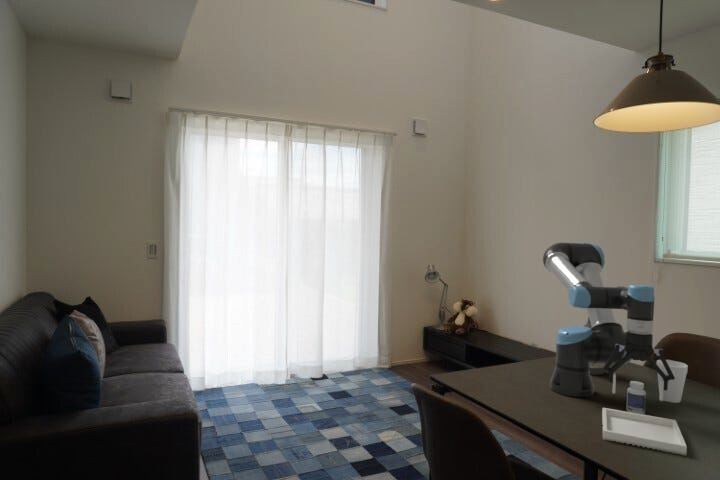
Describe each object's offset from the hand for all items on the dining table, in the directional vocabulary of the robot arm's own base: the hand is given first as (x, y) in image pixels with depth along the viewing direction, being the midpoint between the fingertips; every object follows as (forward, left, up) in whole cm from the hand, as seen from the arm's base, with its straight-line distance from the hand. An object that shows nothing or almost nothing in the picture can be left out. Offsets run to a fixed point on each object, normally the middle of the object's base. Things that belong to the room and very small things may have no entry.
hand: (637, 396), depth 159 cm
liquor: (-14, +42, -6) cm, 45 cm away
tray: (0, -19, -5) cm, 19 cm away
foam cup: (+12, +20, -6) cm, 24 cm away
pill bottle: (0, 0, -6) cm, 6 cm away
